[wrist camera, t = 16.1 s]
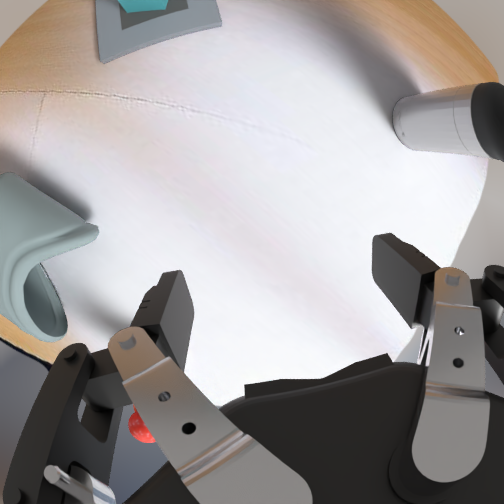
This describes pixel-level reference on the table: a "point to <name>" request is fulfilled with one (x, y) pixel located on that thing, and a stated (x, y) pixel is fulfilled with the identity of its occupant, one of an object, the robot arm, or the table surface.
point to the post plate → (150, 25)
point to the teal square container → (143, 5)
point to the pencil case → (34, 255)
